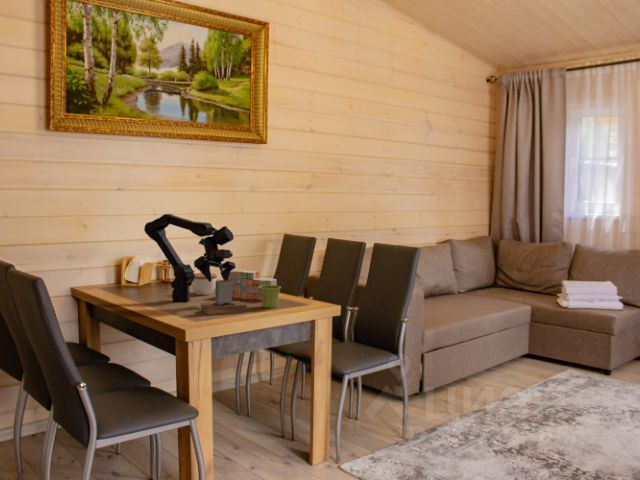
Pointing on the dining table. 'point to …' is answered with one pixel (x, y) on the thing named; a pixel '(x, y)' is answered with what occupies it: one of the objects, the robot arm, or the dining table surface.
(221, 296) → the grey tall block
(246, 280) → the stack of blocks
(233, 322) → the dining table surface
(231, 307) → the brown holed block
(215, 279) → the lidded bowl
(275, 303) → the plant pot
